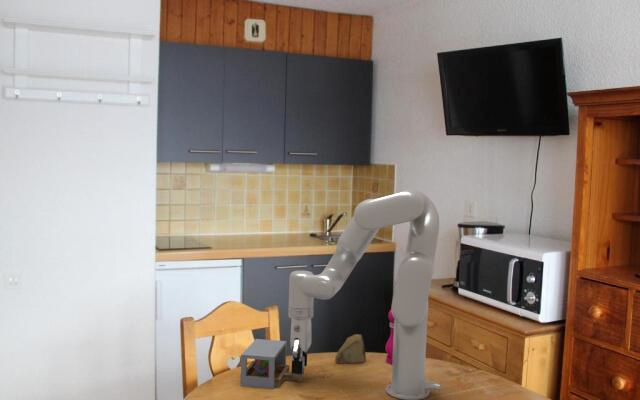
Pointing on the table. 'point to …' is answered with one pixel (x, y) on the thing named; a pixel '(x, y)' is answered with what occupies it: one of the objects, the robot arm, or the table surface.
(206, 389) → the table surface
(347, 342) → the rock
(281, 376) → the brown open frame
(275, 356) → the open box
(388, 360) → the pepper mill
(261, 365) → the geometric puzzle
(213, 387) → the table surface
